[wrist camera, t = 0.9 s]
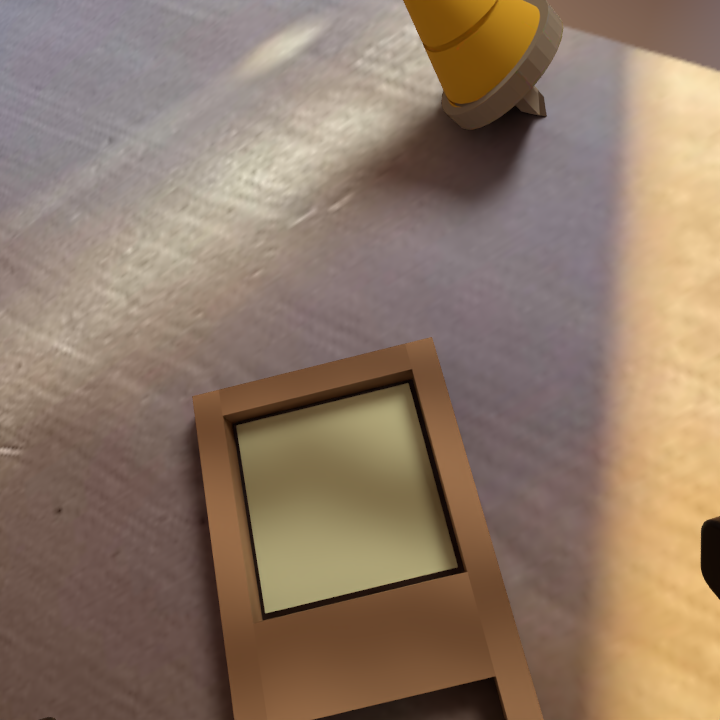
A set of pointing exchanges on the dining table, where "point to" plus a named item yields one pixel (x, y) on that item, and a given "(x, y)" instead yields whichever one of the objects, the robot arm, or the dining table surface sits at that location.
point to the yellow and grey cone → (488, 54)
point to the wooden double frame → (352, 542)
